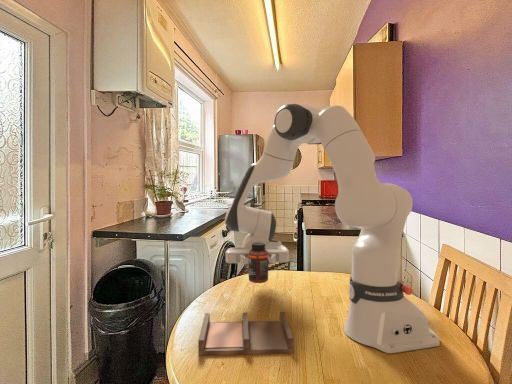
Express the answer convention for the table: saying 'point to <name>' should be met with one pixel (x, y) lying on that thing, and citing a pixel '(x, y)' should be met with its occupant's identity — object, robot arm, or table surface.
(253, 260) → the supplement bottle
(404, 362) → the table surface
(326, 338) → the table surface
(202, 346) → the slot rack
